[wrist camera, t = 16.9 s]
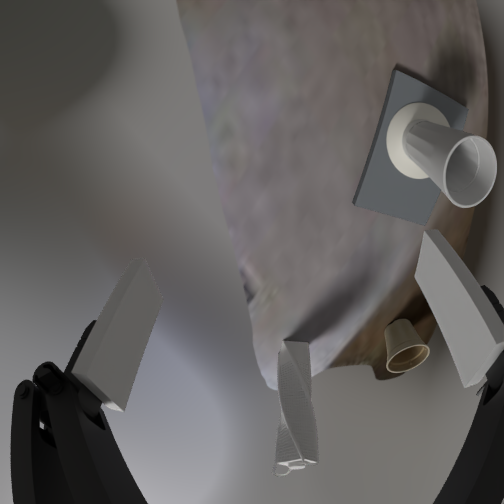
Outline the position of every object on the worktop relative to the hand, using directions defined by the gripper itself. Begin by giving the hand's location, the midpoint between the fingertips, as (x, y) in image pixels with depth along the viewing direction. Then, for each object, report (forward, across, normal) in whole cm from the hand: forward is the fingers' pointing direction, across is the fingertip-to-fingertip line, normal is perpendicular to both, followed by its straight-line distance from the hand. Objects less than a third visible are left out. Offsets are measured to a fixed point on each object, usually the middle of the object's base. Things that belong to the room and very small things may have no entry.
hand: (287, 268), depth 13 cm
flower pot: (+26, +22, -40) cm, 53 cm away
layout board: (+26, +19, -3) cm, 33 cm away
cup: (+25, +20, -1) cm, 32 cm away
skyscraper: (+26, -1, -42) cm, 50 cm away
